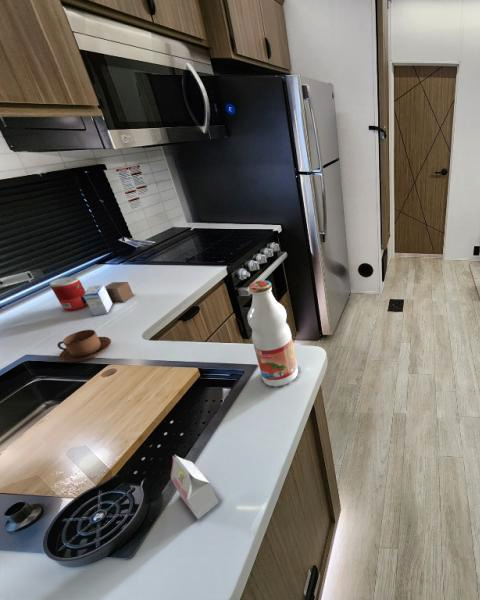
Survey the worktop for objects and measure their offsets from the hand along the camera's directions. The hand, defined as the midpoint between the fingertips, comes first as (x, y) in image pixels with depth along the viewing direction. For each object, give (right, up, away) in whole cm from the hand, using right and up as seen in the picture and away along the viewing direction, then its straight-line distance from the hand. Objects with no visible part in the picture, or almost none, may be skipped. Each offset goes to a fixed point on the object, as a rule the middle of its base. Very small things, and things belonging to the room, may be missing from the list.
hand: (18, 278), depth 106 cm
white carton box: (+86, -44, -45) cm, 106 cm away
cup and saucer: (+28, -23, -5) cm, 36 cm away
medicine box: (+11, -11, +19) cm, 24 cm away
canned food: (-1, -10, +21) cm, 23 cm away
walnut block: (+11, -6, +26) cm, 29 cm away
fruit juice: (+90, -28, -15) cm, 95 cm away
